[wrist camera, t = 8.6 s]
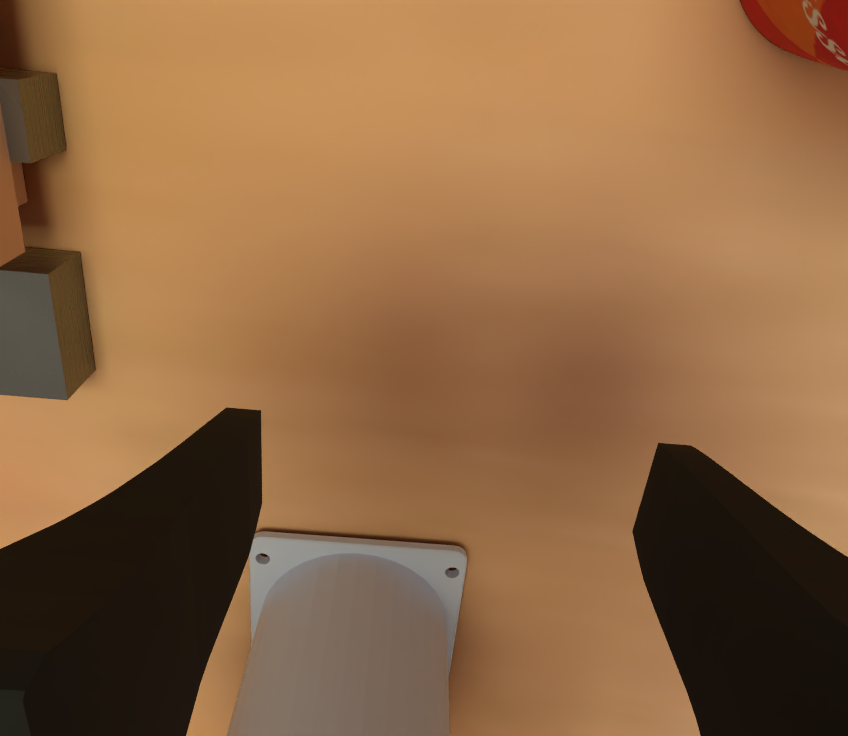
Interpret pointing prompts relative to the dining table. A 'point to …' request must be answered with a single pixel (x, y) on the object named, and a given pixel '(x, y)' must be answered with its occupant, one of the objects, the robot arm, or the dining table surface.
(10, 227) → the tan rectangular block
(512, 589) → the dining table surface
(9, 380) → the set of grey blocks
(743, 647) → the robot arm
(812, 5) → the paper cup
